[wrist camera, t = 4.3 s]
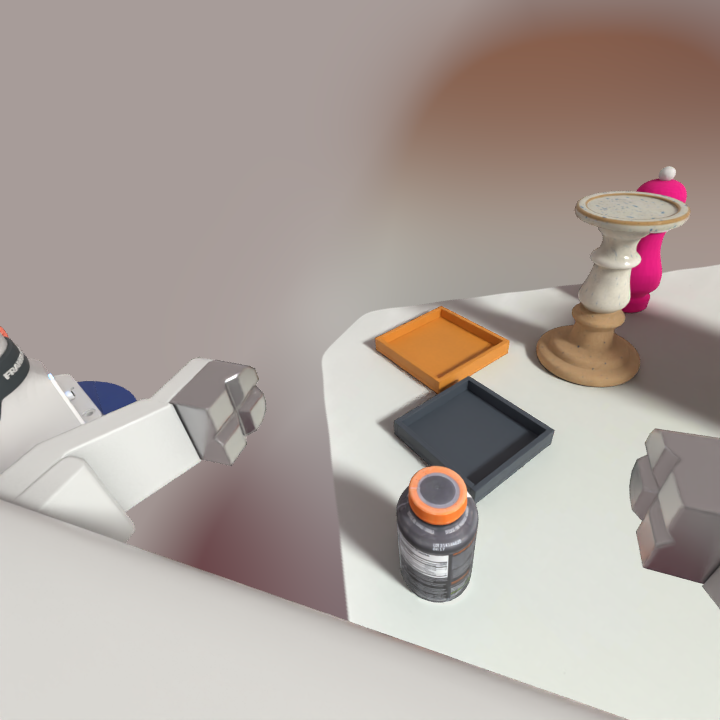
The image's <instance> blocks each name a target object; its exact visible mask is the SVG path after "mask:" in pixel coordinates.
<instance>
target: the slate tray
mask: <svg viewBox="0 0 720 720" xmlns="http://www.w3.org/2000/svg"><path fill="white" fill-rule="evenodd" d="M394 431H395V434H396V435H397V436H398V437H399V438H400V439H401V440H402V441H403V442H405V443H406V444H407V445H408V446H409V447H410V448H411V449H412V450H413V451H415V452H416V453H417V454H418V455H419V456H420V457H421V458H422V459H423V460H424V461H426V462H427V463H428V464H429V465H430V466H442V467H446V468H449V469H451V470H453V471H454V472H456V473H457V474H458V475H459V476H460V477H461V478H462V479H463V481H464V483H465V485H466V488H467V492H468V493H469V494H470V495H471V497H472V498H473V500H474V502H475V504H476V503H477V502H479V501H480V500H481V499H482V498H484V497H485V496H486V495H487V494H489V493H490V492H491V491H492V490H494V489H495V488H496V487H497V486H499V485H500V484H501V483H502V482H504V481H505V480H506V479H507V478H509V477H510V476H511V475H512V474H513V473H515V472H516V471H517V470H518V469H520V468H521V467H522V466H523V465H525V464H526V463H527V462H528V461H530V460H531V459H532V458H533V457H535V456H536V455H537V454H538V453H540V452H541V451H542V450H543V449H545V448H546V447H547V446H548V445H550V444H551V441H552V438H553V434H554V430H553V429H552V428H550V427H549V426H547V425H546V424H544V423H542V422H541V421H539V420H538V419H536V418H534V417H533V416H531V415H530V414H528V413H527V412H525V411H523V410H522V409H520V408H519V407H517V406H515V405H514V404H512V403H511V402H509V401H508V400H506V399H504V398H503V397H501V396H500V395H498V394H497V393H495V392H493V391H492V390H490V389H489V388H487V387H485V386H484V385H482V384H481V383H479V382H478V381H476V380H474V379H473V378H471V377H470V376H467V377H466V378H464V379H462V380H461V381H459V382H457V383H456V384H454V385H452V386H451V387H449V388H447V389H446V390H444V391H443V392H441V393H439V394H438V395H436V396H434V397H433V398H431V399H429V400H428V401H426V402H424V403H423V404H421V405H419V406H418V407H416V408H415V409H413V410H411V411H410V412H408V413H406V414H405V415H403V416H401V417H400V418H398V419H396V420H395V421H394Z"/></svg>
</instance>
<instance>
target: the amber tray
mask: <svg viewBox="0 0 720 720" xmlns="http://www.w3.org/2000/svg"><path fill="white" fill-rule="evenodd" d="M375 342H376V350H377V351H379V352H380V353H382V354H383V355H384V356H386V357H387V358H389V359H390V360H391V361H393V362H394V363H395V364H397V365H398V366H400V367H401V368H402V369H404V370H405V371H407V372H408V373H409V374H411V375H412V376H414V377H415V378H416V379H418V380H419V381H420V382H422V383H423V384H425V385H426V386H427V387H429V388H430V389H432V390H433V391H434V392H436V393H437V394H439V393H441V392H443V391H444V390H446V389H447V388H449V387H451V386H452V385H454V384H456V383H457V382H459V381H461V380H462V379H464V378H466V377H467V376H471V375H472V374H474V373H476V372H477V371H479V370H481V369H482V368H484V367H485V366H487V365H489V364H490V363H492V362H494V361H495V360H497V359H499V358H500V357H502V356H504V355H505V354H507V353H508V348H509V342H510V341H509V340H507V339H505V338H503V337H501V336H499V335H497V334H495V333H493V332H491V331H489V330H487V329H485V328H484V327H482V326H480V325H478V324H476V323H474V322H472V321H470V320H468V319H466V318H464V317H462V316H460V315H458V314H456V313H454V312H452V311H450V310H448V309H446V308H444V307H442V306H440V307H438V308H436V309H434V310H432V311H430V312H428V313H426V314H424V315H422V316H419V317H417V318H415V319H413V320H411V321H409V322H407V323H405V324H403V325H401V326H399V327H397V328H395V329H393V330H391V331H389V332H387V333H385V334H383V335H380V336H378V337H376V338H375Z"/></svg>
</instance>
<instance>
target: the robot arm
mask: <svg viewBox="0 0 720 720" xmlns="http://www.w3.org/2000/svg"><path fill="white" fill-rule="evenodd" d="M258 380H259V378H258V375H257V372H256V370H255V368H253V367H251V366H247V365H242V364H236V363H231V362H225V361H220V360H211V359H206V358H201V357H198V358H194V359H191V361H189V362H188V363H187V364H186V365H185V366H184V367H183V368H182V369H181V370H180V371H179V372H178V373H177V374H176V375H174V376H173V377H172V378H171V379H170V380H169V381H168V382H167V383H166V384H165V385H164V386H163V387H162V388H161V389H160V390H158V391H157V392H156V393H155V394H154V395H153V396H152V397H151V398H150V399H141V400H139V401H137V402H134V403H132V404H130V405H127V406H125V407H123V408H120V409H118V410H116V411H113V412H111V413H109V414H106V415H103V414H102V413H101V411H100V410H99V409H98V408H97V406H96V405H95V404H94V403H93V401H92V400H91V399H90V398H89V396H88V395H87V394H86V393H85V391H84V390H83V389H82V388H81V387H80V385H79V384H78V383H77V382H76V380H75V379H74V378H73V377H72V376H71V375H69V374H63V375H56V376H52V375H51V374H50V373H49V372H48V371H47V369H46V368H45V366H44V365H43V364H42V363H41V361H40V360H37V359H30V358H27V357H26V356H25V355H24V354H23V352H22V350H21V349H20V348H19V347H18V345H16V344H15V343H13V342H12V340H11V339H9V338H8V335H7V333H6V332H5V330H4V329H3V328H1V326H0V720H629V719H626V718H623V717H620V716H617V715H615V714H612V713H609V712H606V711H603V710H600V709H597V708H595V707H592V706H589V705H586V704H583V703H580V702H577V701H575V700H572V699H569V698H566V697H563V696H560V695H557V694H555V693H552V692H549V691H546V690H543V689H540V688H537V687H535V686H532V685H529V684H526V683H523V682H520V681H518V680H515V679H512V678H509V677H506V676H503V675H500V674H498V673H495V672H492V671H489V670H486V669H483V668H480V667H478V666H475V665H472V664H469V663H466V662H463V661H460V660H458V659H455V658H452V657H449V656H446V655H443V654H440V653H438V652H435V651H432V650H429V649H426V648H423V647H420V646H418V645H415V644H412V643H409V642H406V641H403V640H400V639H398V638H395V637H392V636H389V635H386V634H383V633H381V632H378V631H375V630H372V629H369V628H366V627H363V626H361V625H358V624H355V623H352V622H349V621H346V620H343V619H340V618H338V617H335V616H332V615H329V614H326V613H323V612H321V611H318V610H314V609H312V608H309V607H306V606H303V605H301V604H297V603H295V602H292V601H289V600H286V599H283V598H281V597H278V596H275V595H272V594H269V593H266V592H263V591H261V590H258V589H255V588H252V587H249V586H246V585H243V584H241V583H238V582H235V581H232V580H229V579H226V578H224V577H221V576H218V575H215V574H212V573H209V572H206V571H203V570H201V569H198V568H195V567H192V566H189V565H186V564H183V563H181V562H178V561H175V560H172V559H169V558H166V557H163V556H160V555H158V554H155V553H152V552H149V551H146V550H143V549H140V548H138V547H135V546H132V545H129V544H126V541H127V540H128V539H129V537H130V536H131V535H132V534H133V532H134V531H135V524H134V523H133V522H132V521H131V519H130V518H129V517H128V515H127V514H126V513H125V512H126V511H128V510H129V509H131V508H132V507H134V506H135V505H137V504H138V503H140V502H141V501H143V500H144V499H146V498H147V497H149V496H150V495H152V494H153V493H155V492H156V491H158V490H159V489H160V488H162V487H164V486H165V485H166V484H168V483H169V482H171V481H172V480H174V479H175V478H177V477H178V476H180V475H181V474H183V473H184V472H186V471H187V470H189V469H190V468H192V467H193V466H195V465H196V464H198V463H199V462H201V460H200V459H202V460H206V461H211V462H216V463H220V464H225V465H230V466H232V464H233V463H234V462H235V460H236V459H237V457H238V456H239V455H240V453H241V452H242V450H243V449H244V447H245V446H246V445H247V442H246V436H247V435H249V434H251V433H253V432H255V431H257V429H258V428H259V426H260V425H261V423H262V421H263V418H264V415H265V411H266V400H265V397H264V394H263V392H261V390H260V389H259V388H258V387H257V386H256V384H257V382H258ZM645 446H646V450H647V454H648V455H645V456H643V457H641V458H639V459H637V460H636V463H635V465H634V467H633V470H632V473H631V479H630V485H629V488H630V501H631V507H632V510H633V511H634V512H635V514H636V515H637V516H638V517H639V518H640V519H641V520H642V522H641V524H640V526H639V527H638V529H637V531H636V534H637V539H638V545H639V550H640V555H641V560H642V565H643V568H646V569H650V570H654V571H657V572H661V573H665V574H668V575H672V576H676V577H680V578H683V579H687V580H691V581H694V582H698V583H702V584H703V586H702V587H703V588H704V589H705V591H706V592H707V593H708V594H709V596H710V597H711V598H712V600H713V601H714V602H715V603H716V605H717V606H718V607H719V609H720V438H717V437H710V436H703V435H696V434H689V433H683V432H676V431H669V430H662V429H656V428H655V429H654V430H653V431H652V432H651V433H650V434H649V436H648V438H647V440H646V442H645Z"/></svg>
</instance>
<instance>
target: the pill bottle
mask: <svg viewBox="0 0 720 720" xmlns="http://www.w3.org/2000/svg"><path fill="white" fill-rule="evenodd" d="M396 516H397V530H398V544H399V555H400V568H401V573H402V576H403V579H404V581H405V583H406V584H407V586H408V587H409V588H410V589H411V590H412V591H413V592H414V593H415V594H416V595H418V596H419V597H421V598H422V599H425V600H428V601H431V602H447V601H451V600H452V599H454V598H456V597H458V596H459V595H461V594H462V593H463V591H464V590H465V589H466V587H467V585H468V584H469V581H470V577H471V572H472V565H473V557H474V550H475V541H476V534H477V527H478V511H477V507H476V504H475V502H474V500H473V498H472V497H471V495H470V494H469V493H468V492H467V488H466V485H465V483H464V481H463V479H462V478H461V477H460V476H459V475H458V474H457V473H456V472H454V471H453V470H451V469H449V468H446V467H442V466H430V467H426V468H423V469H421V470H419V471H418V472H417V473H416V474H415V475H414V476H413V477H412V478H411V481H410V484H409V486H408V487H407V488H406V489H405V490H404V492H403V493H402V495H401V496H400V498H399V501H398V504H397V512H396Z"/></svg>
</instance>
